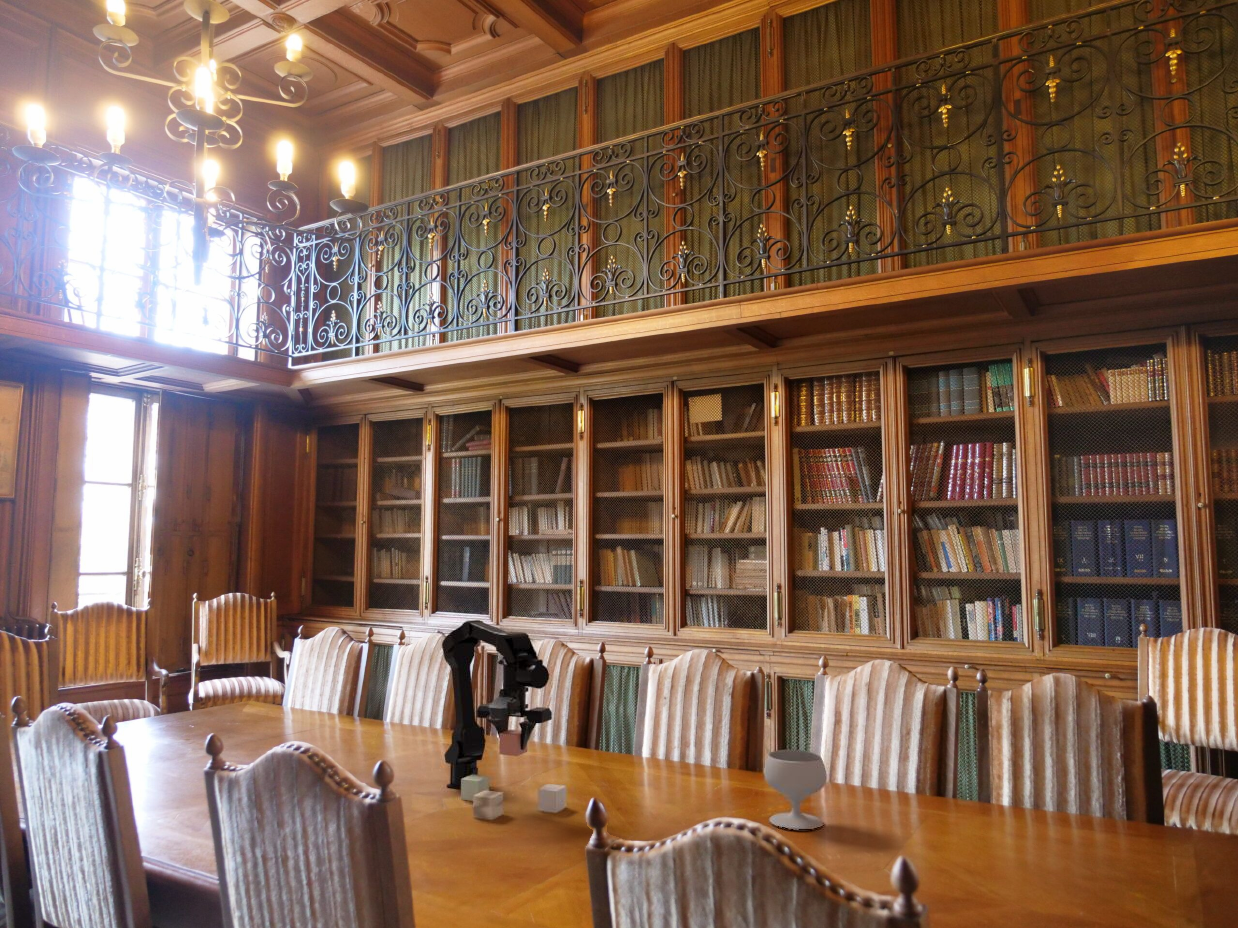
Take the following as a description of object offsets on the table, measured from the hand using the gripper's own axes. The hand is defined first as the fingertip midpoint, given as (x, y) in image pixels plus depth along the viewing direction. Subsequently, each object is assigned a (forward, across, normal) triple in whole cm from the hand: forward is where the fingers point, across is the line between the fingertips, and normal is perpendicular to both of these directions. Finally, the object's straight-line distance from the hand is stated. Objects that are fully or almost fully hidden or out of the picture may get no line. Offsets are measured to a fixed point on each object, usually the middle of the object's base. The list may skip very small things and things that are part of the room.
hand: (513, 748), depth 207 cm
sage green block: (+13, -11, 0) cm, 17 cm away
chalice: (+13, +67, +13) cm, 70 cm away
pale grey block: (+13, +11, 0) cm, 17 cm away
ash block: (+13, 0, -11) cm, 17 cm away
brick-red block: (+1, 0, 0) cm, 1 cm away
